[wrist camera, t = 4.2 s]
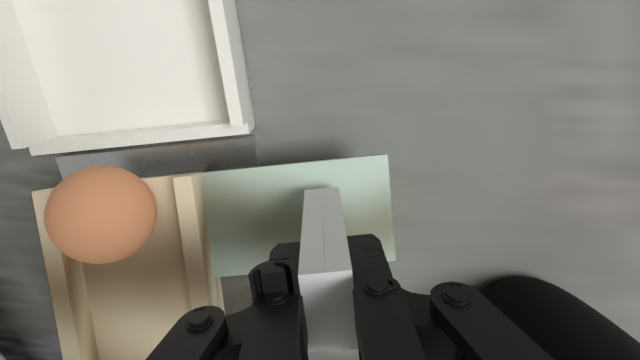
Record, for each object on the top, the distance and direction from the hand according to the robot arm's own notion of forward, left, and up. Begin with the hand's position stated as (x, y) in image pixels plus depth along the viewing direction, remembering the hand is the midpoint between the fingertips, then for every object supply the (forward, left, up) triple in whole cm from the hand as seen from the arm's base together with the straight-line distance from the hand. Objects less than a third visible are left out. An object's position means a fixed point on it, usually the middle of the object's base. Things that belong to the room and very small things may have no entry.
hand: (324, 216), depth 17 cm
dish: (-9, -9, -5) cm, 14 cm away
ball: (-2, -9, +1) cm, 9 cm away
